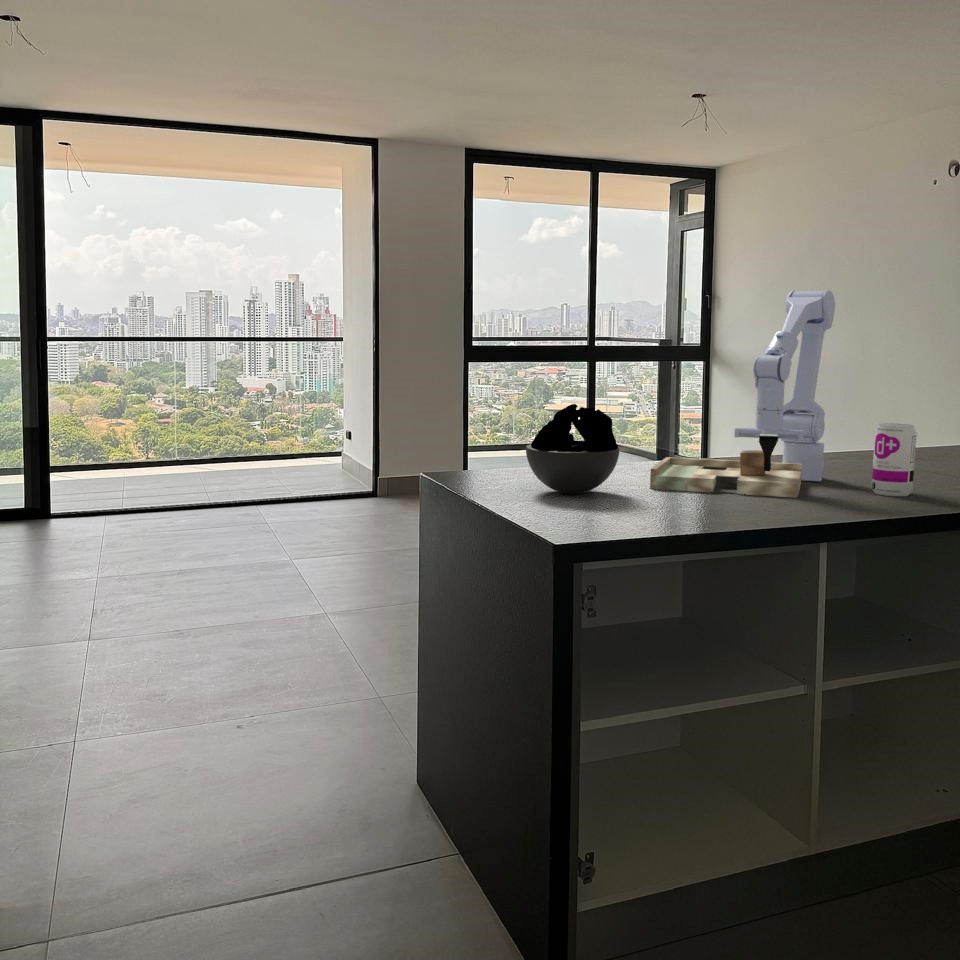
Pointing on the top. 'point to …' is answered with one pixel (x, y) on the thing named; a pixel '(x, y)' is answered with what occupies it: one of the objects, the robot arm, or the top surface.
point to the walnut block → (752, 463)
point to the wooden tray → (724, 477)
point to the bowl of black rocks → (574, 451)
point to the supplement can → (894, 459)
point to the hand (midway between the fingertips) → (766, 470)
